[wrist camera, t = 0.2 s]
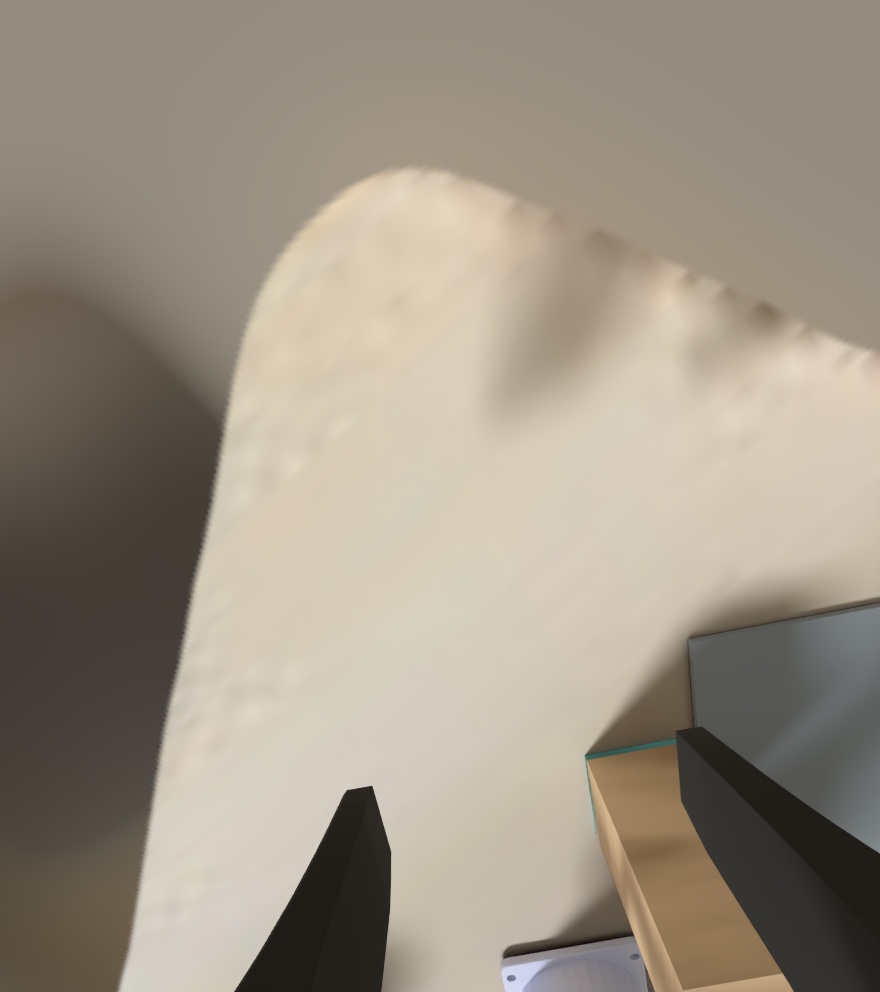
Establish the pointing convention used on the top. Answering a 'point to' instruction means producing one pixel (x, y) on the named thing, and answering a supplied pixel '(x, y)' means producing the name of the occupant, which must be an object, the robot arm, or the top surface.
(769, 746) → the slate mat
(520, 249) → the top surface
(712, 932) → the oak block
